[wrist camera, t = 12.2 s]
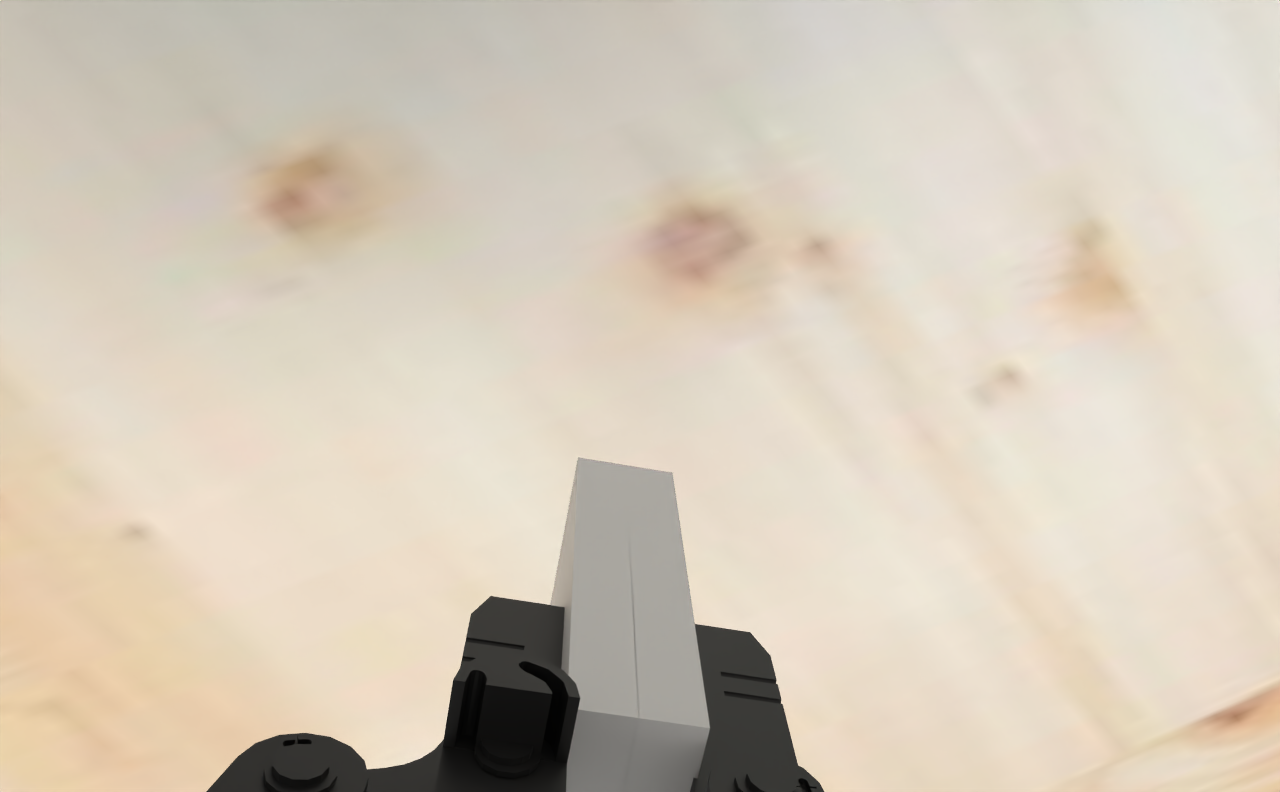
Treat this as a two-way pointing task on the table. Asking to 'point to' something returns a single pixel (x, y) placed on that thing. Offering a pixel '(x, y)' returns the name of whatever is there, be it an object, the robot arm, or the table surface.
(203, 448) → the table surface
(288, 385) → the table surface
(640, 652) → the robot arm
